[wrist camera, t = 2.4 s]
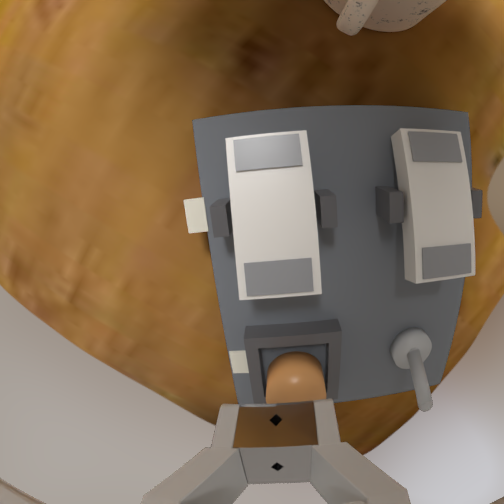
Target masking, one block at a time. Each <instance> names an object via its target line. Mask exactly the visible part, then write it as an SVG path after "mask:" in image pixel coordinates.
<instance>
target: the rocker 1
mask: <svg viewBox="0 0 504 504" xmlns="http://www.w3.org/2000/svg"><path fill="white" fill-rule="evenodd" d="M225 140H226V153H227V165H228V178H229V190H230V202H231V214H232V225H233V237H234V248H235V259H236V269H237V280H238V291H239V300H251V299H266V298H280V297H292V296H305V295H316V294H322V288H321V271H320V256H319V243H318V231H317V219H316V208H315V198H314V189H313V179H312V171H311V162H310V154H309V146H308V139H307V131H306V130H302V131H288V132H276V133H266V134H256V135H247V136H239V137H231V138H225Z"/></svg>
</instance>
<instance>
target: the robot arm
mask: <svg viewBox="0 0 504 504" xmlns="http://www.w3.org/2000/svg"><path fill="white" fill-rule="evenodd" d="M295 482H310V483H311V484H312V486H313V487H314V488H315V489H316V490H317V491H318V493H319V494H320V495H321V496H322V497H323V499H324V500H325V501H326V502H327V503H328V504H411V503H410V499H409V496H408V492H407V489H405V488H404V487H403V486H401V485H400V484H399V483H397V482H396V481H395V480H393V479H392V478H391V477H389V476H388V475H387V474H386V473H384V472H383V471H382V470H381V469H379V468H378V467H377V466H375V465H374V464H373V463H372V462H370V461H369V460H368V459H367V458H365V457H364V456H363V455H362V454H361V453H359V452H358V451H357V450H356V449H354V448H353V447H352V446H351V445H350V444H348V443H347V442H341V441H340V435H339V430H338V424H337V419H336V413H335V408H334V403H333V400H332V399H331V398H329V399H321V400H312V401H301V402H289V403H277V404H222V405H221V407H220V410H219V414H218V419H217V423H216V427H215V431H214V436H213V440H212V444H211V447H206V448H204V449H203V450H201V451H200V452H199V453H198V454H197V455H195V456H194V457H193V458H192V459H191V460H189V461H188V462H187V463H186V464H185V465H183V466H182V467H181V468H179V469H178V470H177V471H175V472H174V473H173V474H172V475H170V476H169V477H168V478H166V479H165V480H164V481H162V482H161V483H160V484H158V485H157V486H156V487H154V488H153V489H152V490H150V491H149V492H147V493H146V494H145V495H144V496H143V499H142V501H141V504H233V502H234V501H235V500H236V499H237V498H238V497H239V496H240V494H241V493H242V492H243V491H244V490H245V488H246V487H247V486H248V484H263V483H264V484H266V483H295ZM0 504H46V503H43V502H42V501H39V500H38V499H36V498H34V497H32V496H30V495H28V494H26V493H24V492H23V491H21V490H19V489H17V488H16V487H14V486H12V485H11V484H9V483H7V482H6V481H4V480H2V479H1V478H0ZM490 504H504V497H502V498H500V499H498V500H496V501H494V502H492V503H490Z"/></svg>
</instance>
